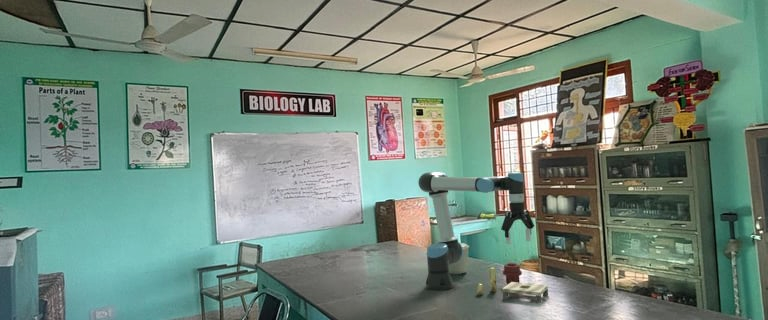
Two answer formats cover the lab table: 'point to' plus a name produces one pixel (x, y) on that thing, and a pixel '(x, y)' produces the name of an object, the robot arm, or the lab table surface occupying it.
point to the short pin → (480, 289)
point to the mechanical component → (512, 272)
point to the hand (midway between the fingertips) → (518, 242)
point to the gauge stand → (526, 290)
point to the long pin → (492, 279)
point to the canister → (460, 262)
